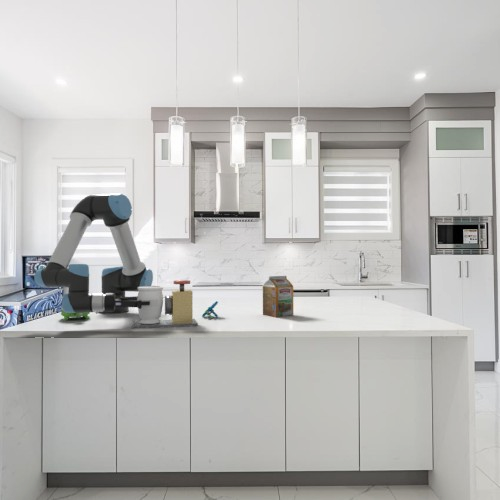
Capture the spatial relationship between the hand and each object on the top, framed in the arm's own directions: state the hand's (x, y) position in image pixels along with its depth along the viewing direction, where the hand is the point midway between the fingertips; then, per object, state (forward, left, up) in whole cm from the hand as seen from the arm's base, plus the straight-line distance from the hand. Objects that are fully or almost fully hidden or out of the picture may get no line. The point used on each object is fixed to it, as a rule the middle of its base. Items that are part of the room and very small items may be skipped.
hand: (158, 300), depth 163 cm
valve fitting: (0, +4, -10) cm, 11 cm away
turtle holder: (-26, -36, -10) cm, 46 cm away
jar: (0, -3, -9) cm, 10 cm away
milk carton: (-13, +57, -10) cm, 59 cm away
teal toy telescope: (-15, +24, -10) cm, 30 cm away
